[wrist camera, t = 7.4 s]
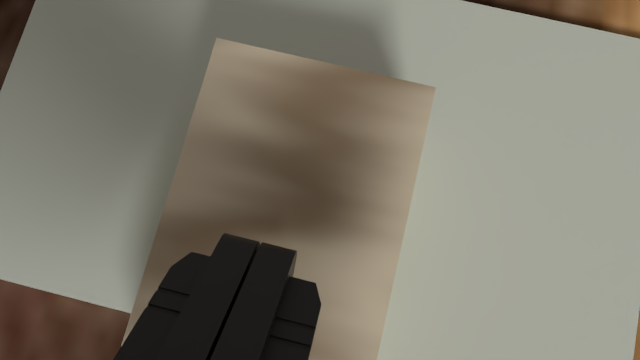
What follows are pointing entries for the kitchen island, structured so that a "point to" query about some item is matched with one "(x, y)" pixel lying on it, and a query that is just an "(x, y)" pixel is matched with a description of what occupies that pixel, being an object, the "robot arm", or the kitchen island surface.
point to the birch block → (300, 181)
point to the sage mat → (432, 177)
